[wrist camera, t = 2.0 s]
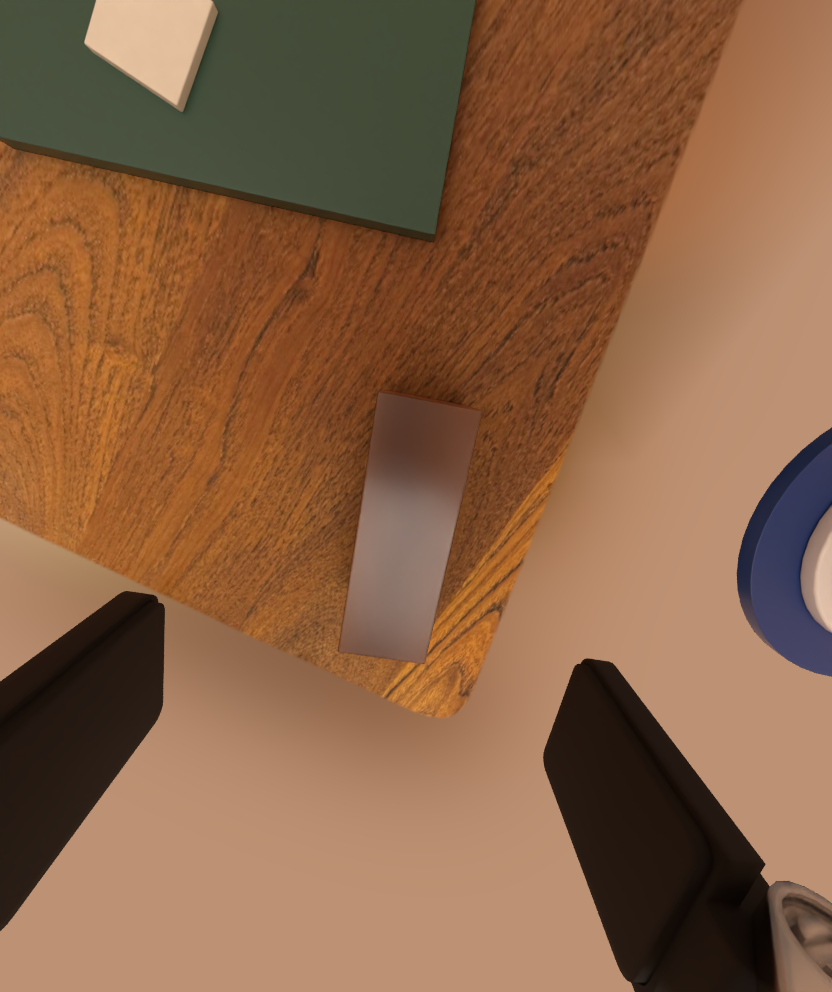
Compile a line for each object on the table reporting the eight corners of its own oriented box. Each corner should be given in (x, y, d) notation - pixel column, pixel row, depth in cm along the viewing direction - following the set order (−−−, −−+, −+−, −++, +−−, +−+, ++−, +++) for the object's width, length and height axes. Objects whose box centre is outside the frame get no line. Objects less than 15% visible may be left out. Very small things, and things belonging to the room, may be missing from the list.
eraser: (464, 404, 22) (482, 410, 16) (420, 605, 25) (424, 664, 20) (384, 389, 21) (378, 390, 16) (352, 595, 25) (337, 652, 19)
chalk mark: (219, 12, 16) (213, 0, 16) (183, 113, 17) (176, 105, 16) (124, -57, 15) (115, -71, 15) (92, 52, 16) (83, 42, 16)
